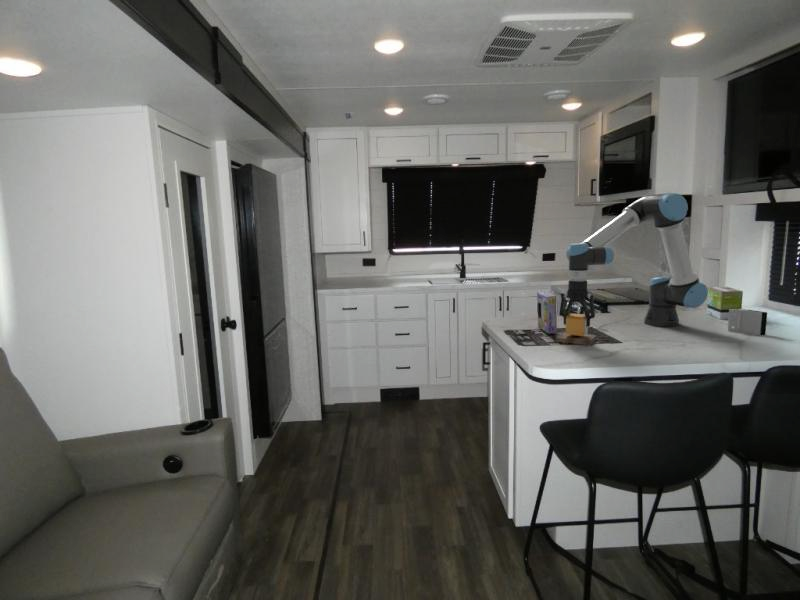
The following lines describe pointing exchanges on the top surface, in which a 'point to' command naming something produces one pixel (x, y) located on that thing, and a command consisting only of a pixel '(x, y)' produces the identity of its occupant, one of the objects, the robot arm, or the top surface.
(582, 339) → the base plate
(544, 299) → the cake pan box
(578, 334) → the orange cube block
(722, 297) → the tea box
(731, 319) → the gray black rectangular block
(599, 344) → the top surface
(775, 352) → the top surface
